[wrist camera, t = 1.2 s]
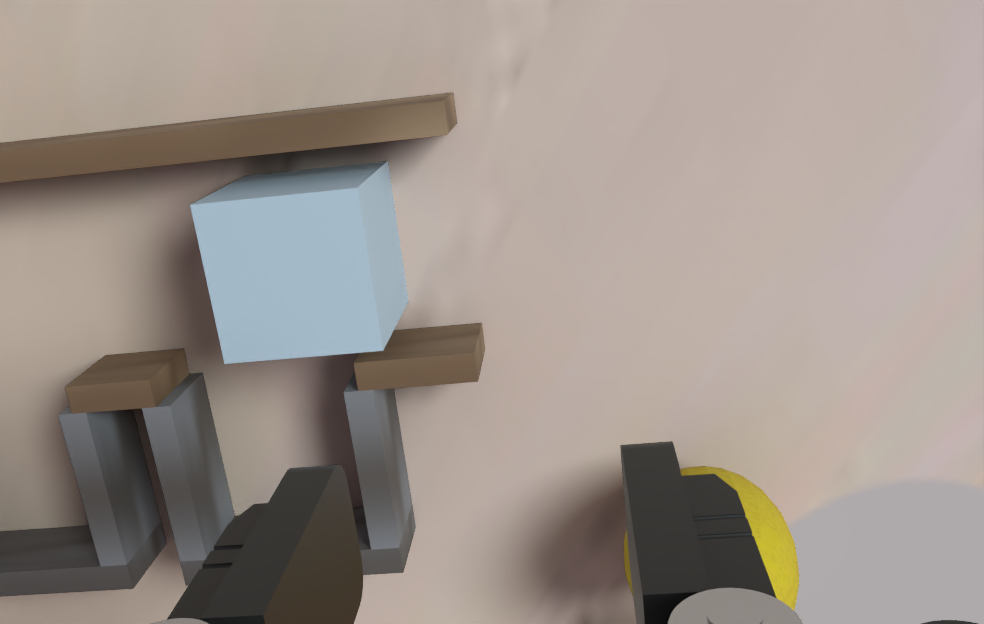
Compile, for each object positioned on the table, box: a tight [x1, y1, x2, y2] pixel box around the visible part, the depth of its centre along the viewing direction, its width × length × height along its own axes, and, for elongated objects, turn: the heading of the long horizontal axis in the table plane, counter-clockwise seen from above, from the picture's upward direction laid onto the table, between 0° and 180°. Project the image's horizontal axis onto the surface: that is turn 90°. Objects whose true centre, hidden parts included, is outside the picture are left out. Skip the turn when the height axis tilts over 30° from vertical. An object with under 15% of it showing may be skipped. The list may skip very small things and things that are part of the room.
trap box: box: [0, 93, 485, 596], centre depth 33 cm, size 16×29×3 cm, turn 97°
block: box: [190, 161, 408, 364], centre depth 30 cm, size 5×5×5 cm
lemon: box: [624, 466, 799, 611], centre depth 30 cm, size 6×6×8 cm
